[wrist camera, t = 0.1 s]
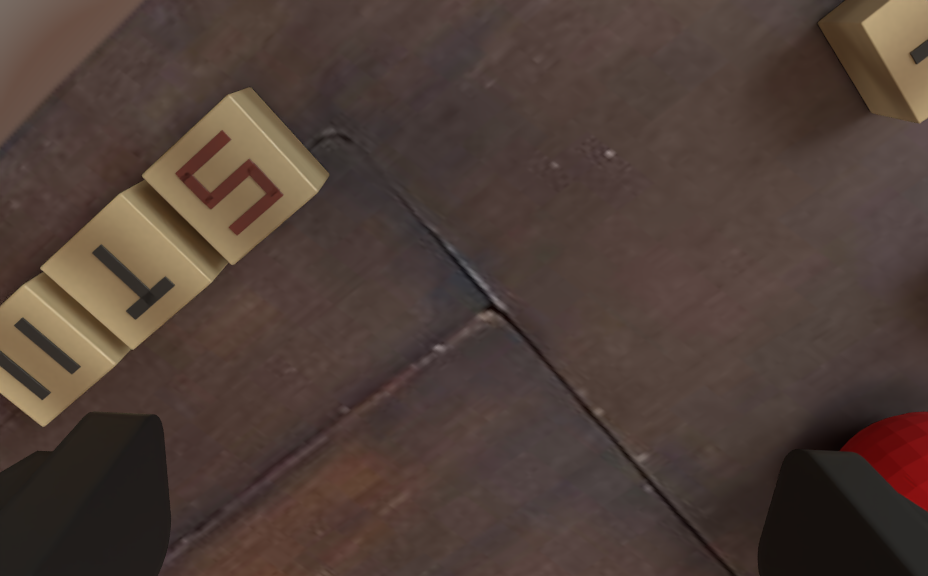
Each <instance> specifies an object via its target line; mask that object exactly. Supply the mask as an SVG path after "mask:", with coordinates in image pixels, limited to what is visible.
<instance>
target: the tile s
mask: <svg viewBox="0 0 928 576" xmlns="http://www.w3.org/2000/svg"><path fill="white" fill-rule="evenodd" d="M142 177H143V178H144V179H145V180H146V181H147V182H148V183H149V184H150V185H151V186H152V187H153V188H154V189H155V190H156V191H157V192H158V193H159V194H160V195H161V196H162V197H163V198H164V199H165V200H166V201H167V202H168V203H169V204H170V205H171V206H172V207H173V208H174V209H175V210H176V211H177V212H178V213H179V214H180V215H181V216H182V217H183V218H184V219H185V220H186V221H188V222H189V223H190V224H191V225H192V226H193V227H194V228H195V229H196V230H197V231H198V232H199V233H200V234H201V235H202V236H203V237H204V238H205V239H206V240H207V241H208V242H209V243H210V244H211V245H212V246H213V247H214V248H215V249H216V250H217V251H218V252H219V253H220V254H221V255H222V256H223V257H224V258H225V259H226V260H227V261H228V262H229V263H230V264H231V265H234V264H236V263H237V262H238V261H239V260H240V259H241V258H243V257H244V256H245V255H246V254H247V253H248V252H250V251H251V250H252V249H253V248H254V247H255V246H257V245H258V244H259V243H260V242H261V241H262V240H263V239H265V238H266V237H267V236H268V235H269V234H270V233H272V232H273V231H274V230H275V229H276V228H277V227H279V226H280V225H281V224H282V223H283V222H284V221H286V220H287V219H288V218H289V217H290V216H291V215H293V214H294V213H295V212H296V211H297V210H298V209H300V208H301V207H302V206H303V205H304V204H305V203H307V202H308V201H309V200H310V199H311V198H312V197H314V196H315V195H316V194H317V193H318V192H319V190H320V189H321V187H322V186H323V184H324V183H325V182H326V180H327V179H328V177H329V173H328V172H327V171H326V170H325V169H324V168H323V166H322V165H321V164H320V163H319V162H318V161H317V160H316V159H315V158H314V157H313V155H312V154H311V153H310V152H309V151H308V150H307V149H306V148H305V147H304V145H303V144H302V143H301V142H300V141H299V140H298V139H297V138H296V137H295V136H294V134H293V133H292V132H291V131H290V130H289V129H288V128H287V127H286V126H285V124H284V123H283V122H282V121H281V120H280V119H279V118H278V117H277V116H276V115H275V113H274V112H273V111H272V110H271V109H270V108H269V107H268V106H267V105H266V103H265V102H264V101H263V100H262V99H261V98H260V97H259V96H258V95H257V94H256V92H255V91H254V90H253V89H252V88H251V87H248V88H246V89H243V90H240V91H237V92H234V93H231V94H229V95H227V96H226V97H225V98H223V99H222V100H221V101H220V102H219V103H218V104H217V105H216V106H215V107H214V108H213V109H212V110H211V111H210V112H208V113H207V114H206V115H205V116H204V117H203V118H202V119H201V120H200V121H199V122H198V123H197V124H196V125H195V126H193V127H192V128H191V129H190V130H189V131H188V132H187V133H186V134H185V135H184V136H183V137H182V138H181V139H179V140H178V141H177V142H176V143H175V144H174V145H173V146H172V147H171V148H170V149H169V150H168V151H167V152H166V153H164V154H163V155H162V156H161V157H160V158H159V159H158V160H157V161H156V162H155V163H154V164H153V165H152V166H151V167H149V168H148V169H147V170H146V171H145V172H144V173H143V174H142Z"/></svg>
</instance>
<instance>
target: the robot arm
mask: <svg viewBox="0 0 928 576" xmlns="http://www.w3.org/2000/svg"><path fill="white" fill-rule="evenodd" d="M170 528H171V512H170V500H169V489H168V477H167V465H166V454H165V442H164V432H163V426H162V423H161V420H160V418H159V417H158V416H157V415H153V414H133V413H113V412H90V413H88V414H87V415H86V416H84V417H83V418H82V420H81V421H80V422H79V423H78V424H77V425H76V426H75V427H74V429H73V430H72V431H71V432H70V433H69V434H68V435H67V436H66V437H65V439H64V440H63V441H62V442H61V443H60V444H59V445H58V446H57V448H56V449H55V450H54V451H53V452H50V451H36V452H35V453H33V454H31V455H29V456H28V457H26V458H24V459H23V460H21V461H19V462H18V463H16V464H14V465H12V466H11V467H9V468H7V469H6V470H4V471H2V472H1V473H0V576H158V574H159V571H160V569H161V567H162V564H163V562H164V559H165V555H166V552H167V548H168V543H169V537H170ZM758 569H759V575H760V576H928V512H927V511H926V510H924V509H923V508H921V507H920V506H918V505H917V504H915V503H913V502H912V501H910V500H909V499H907V498H906V497H904V496H903V495H901V494H899V493H898V492H897V491H896V490H895V489H894V488H893V487H892V486H891V485H890V484H889V483H888V482H887V481H886V480H885V479H884V478H883V477H882V476H881V475H880V474H879V473H878V472H877V471H876V470H875V469H874V468H873V467H872V466H871V465H870V464H869V463H868V461H867V460H866V459H864V458H863V457H862V456H861V455H859V454H857V453H855V452H846V451H826V450H806V449H795V450H792V451H791V452H790V453H788V455H787V456H786V457H785V459H784V461H783V464H782V467H781V470H780V473H779V477H778V480H777V484H776V487H775V490H774V494H773V497H772V501H771V504H770V507H769V511H768V514H767V518H766V521H765V525H764V528H763V531H762V535H761V538H760V542H759V547H758Z"/></svg>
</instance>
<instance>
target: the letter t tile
mask: <svg viewBox="0 0 928 576" xmlns="http://www.w3.org/2000/svg"><path fill="white" fill-rule="evenodd" d="M818 25H819V27H820V28H821V30H822V32H823V33H824V35H825V37H826V38H827V40H828V42H829V43H830V45H831V47H832V48H833V50H834V52H835V53H836V55H837V57H838V58H839V60H840V62H841V63H842V65H843V67H844V68H845V70H846V72H847V73H848V75H849V76H850V78H851V80H852V81H853V83H854V85H855V86H856V88H857V90H858V91H859V93H860V95H861V96H862V98H863V100H864V101H865V103H866V105H867V106H868V108H869V110H870V111H871V113H872V114H877V115H882V116H886V117H891V118H896V119H900V120H905V121H910V122H914V123H921V122H922V121H924V120H925V119H927V118H928V0H845V1H844V2H843V3H841V4H840V5H839V6H838V7H836V8H835V9H834V10H833V11H831V12H830V13H829V14H828V15H826V16H825V17H824V18H822V19H821V20H820V21H819V22H818Z"/></svg>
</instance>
